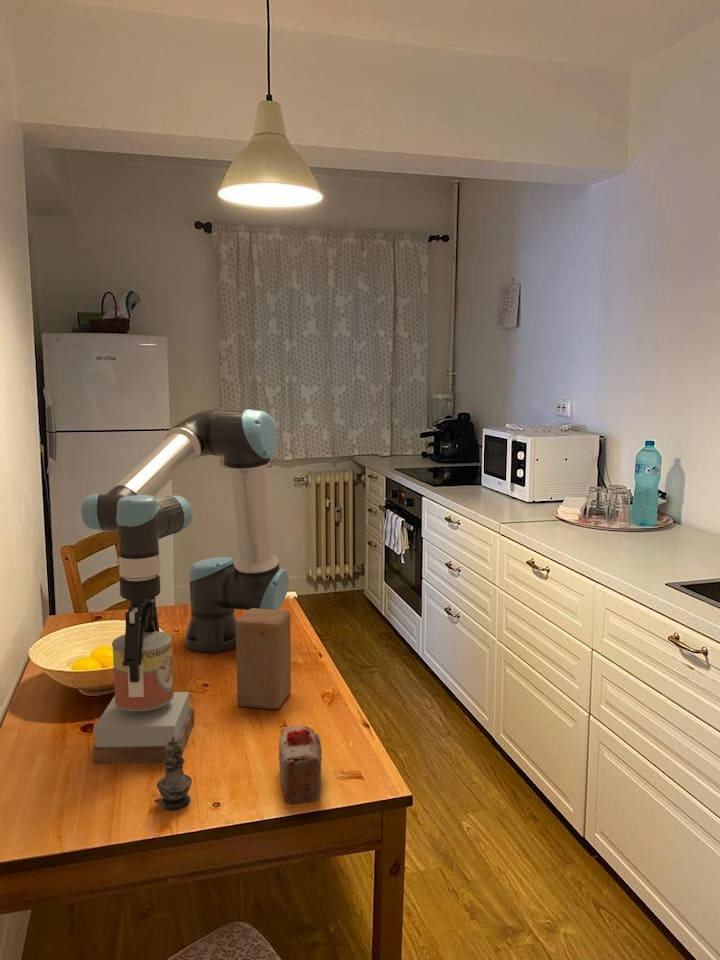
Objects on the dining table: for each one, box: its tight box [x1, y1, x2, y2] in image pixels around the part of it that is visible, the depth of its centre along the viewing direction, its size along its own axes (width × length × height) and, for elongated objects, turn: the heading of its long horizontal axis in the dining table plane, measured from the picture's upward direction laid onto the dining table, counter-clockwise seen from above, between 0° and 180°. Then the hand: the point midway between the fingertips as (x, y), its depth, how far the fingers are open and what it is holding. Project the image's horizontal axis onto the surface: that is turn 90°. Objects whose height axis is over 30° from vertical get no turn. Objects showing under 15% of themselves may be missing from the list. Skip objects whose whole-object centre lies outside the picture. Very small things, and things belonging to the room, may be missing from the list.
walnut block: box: [92, 707, 195, 765], centre depth 149 cm, size 16×16×4 cm
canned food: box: [111, 630, 174, 711], centre depth 147 cm, size 11×11×12 cm
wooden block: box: [235, 608, 292, 710], centre depth 168 cm, size 10×10×20 cm
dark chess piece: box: [156, 737, 193, 812], centre depth 128 cm, size 6×6×12 cm
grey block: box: [93, 691, 191, 747], centre depth 148 cm, size 15×15×4 cm
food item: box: [278, 724, 323, 804], centre depth 135 cm, size 14×8×10 cm, turn 11°
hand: (144, 683), depth 148 cm, fingers closed on canned food, 11 cm apart
